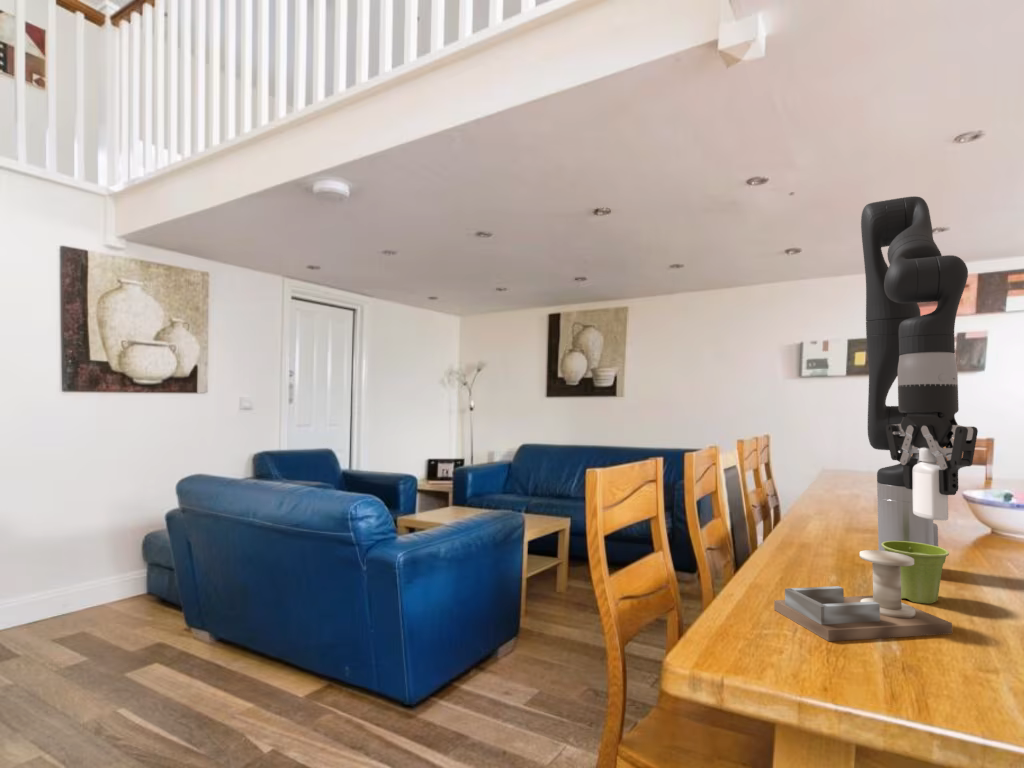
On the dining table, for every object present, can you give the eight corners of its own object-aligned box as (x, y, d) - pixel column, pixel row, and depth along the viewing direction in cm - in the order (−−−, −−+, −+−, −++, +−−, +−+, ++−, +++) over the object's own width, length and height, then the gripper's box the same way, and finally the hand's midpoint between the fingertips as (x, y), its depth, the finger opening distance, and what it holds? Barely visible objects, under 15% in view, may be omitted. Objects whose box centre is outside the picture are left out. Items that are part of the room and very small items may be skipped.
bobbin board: (884, 604, 91) (882, 545, 91) (952, 633, 79) (950, 565, 80) (774, 609, 88) (773, 548, 88) (828, 641, 76) (827, 570, 76)
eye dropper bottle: (912, 518, 84) (910, 440, 84) (913, 513, 88) (911, 438, 89) (948, 522, 81) (946, 441, 82) (947, 516, 86) (946, 440, 86)
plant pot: (963, 610, 89) (961, 556, 89) (898, 605, 90) (897, 552, 91) (931, 591, 98) (929, 542, 98) (872, 587, 100) (871, 539, 100)
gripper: (994, 381, 79) (997, 499, 78) (908, 385, 93) (910, 485, 93) (949, 380, 78) (952, 499, 77) (869, 385, 92) (871, 485, 91)
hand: (929, 491), depth 85 cm, fingers closed on eye dropper bottle, 5 cm apart
